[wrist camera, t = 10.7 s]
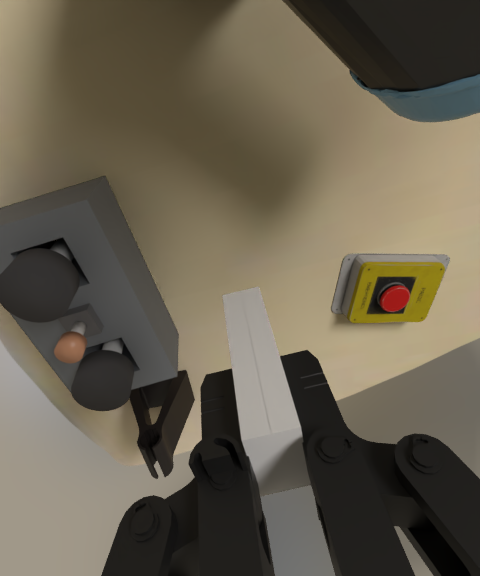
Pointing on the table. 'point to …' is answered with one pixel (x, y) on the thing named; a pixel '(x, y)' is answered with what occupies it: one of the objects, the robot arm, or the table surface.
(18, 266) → the knob
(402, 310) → the emergency button
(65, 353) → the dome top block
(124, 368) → the knob
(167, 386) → the phone stand
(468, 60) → the robot arm
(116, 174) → the table surface
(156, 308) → the mount
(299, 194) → the table surface
